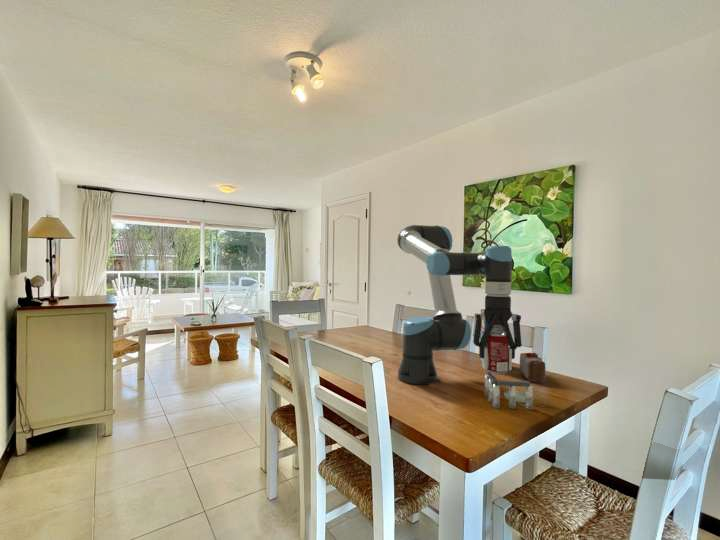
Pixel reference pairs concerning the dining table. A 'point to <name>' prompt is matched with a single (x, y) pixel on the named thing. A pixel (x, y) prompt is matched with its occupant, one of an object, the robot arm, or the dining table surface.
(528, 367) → the food item
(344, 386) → the dining table surface
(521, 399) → the coaster
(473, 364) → the dining table surface
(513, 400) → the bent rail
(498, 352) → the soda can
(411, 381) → the robot arm
